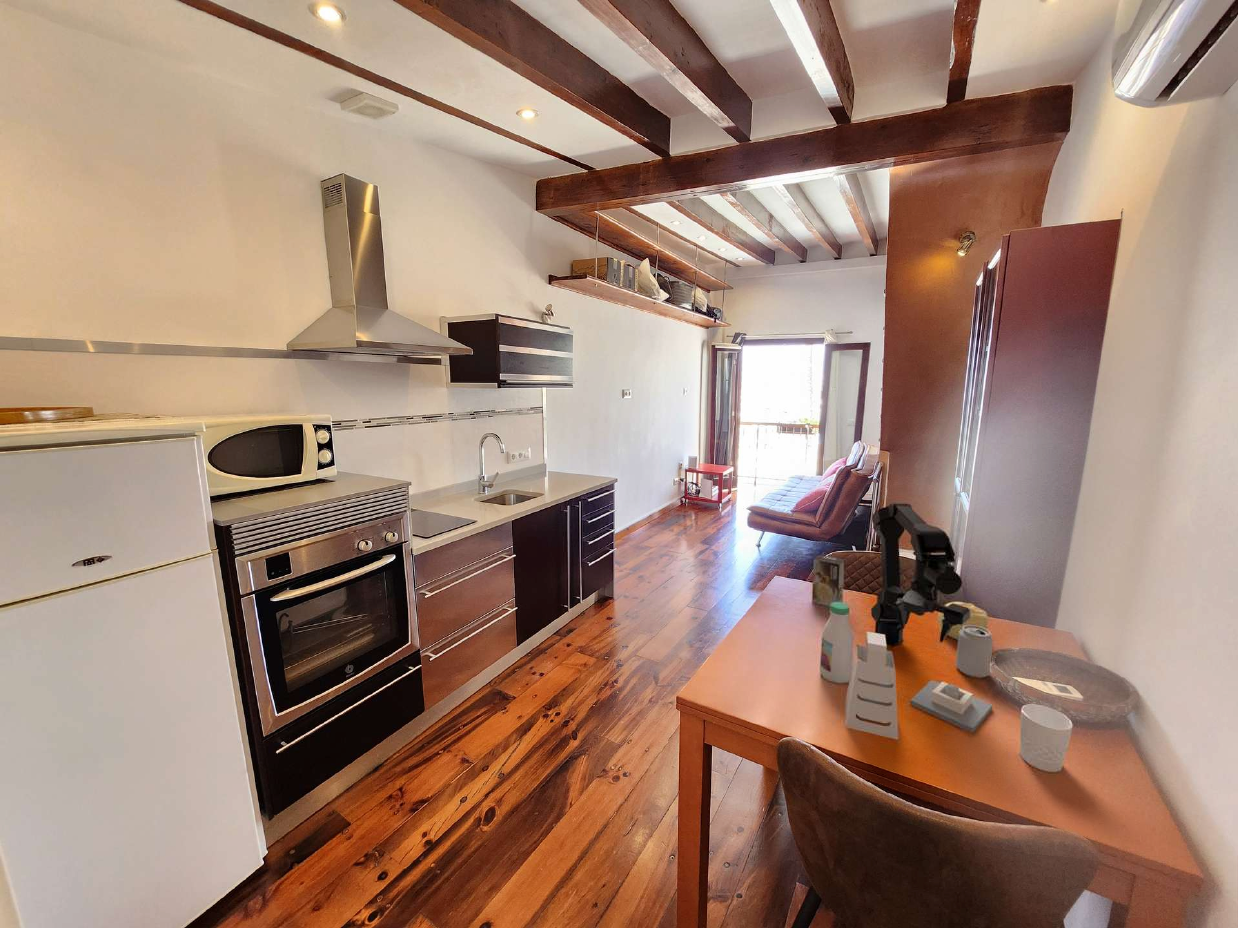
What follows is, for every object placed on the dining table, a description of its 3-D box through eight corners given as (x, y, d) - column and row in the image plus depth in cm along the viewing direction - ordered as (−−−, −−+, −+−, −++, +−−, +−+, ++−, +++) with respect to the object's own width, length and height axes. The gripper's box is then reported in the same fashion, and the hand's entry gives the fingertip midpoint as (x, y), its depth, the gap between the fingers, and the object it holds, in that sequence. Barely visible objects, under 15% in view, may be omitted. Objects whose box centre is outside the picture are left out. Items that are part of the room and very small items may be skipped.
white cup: (1006, 747, 106) (1011, 705, 105) (1040, 745, 107) (1046, 702, 105) (1040, 776, 99) (1046, 730, 97) (1076, 773, 99) (1083, 728, 98)
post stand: (909, 704, 121) (911, 684, 120) (931, 683, 129) (933, 665, 128) (972, 733, 111) (974, 711, 110) (992, 709, 119) (994, 689, 118)
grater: (894, 710, 119) (900, 632, 115) (898, 739, 109) (905, 654, 106) (845, 700, 123) (850, 624, 120) (845, 726, 113) (851, 645, 110)
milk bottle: (851, 671, 135) (856, 601, 132) (851, 687, 128) (856, 613, 125) (820, 665, 138) (824, 596, 135) (818, 680, 131) (822, 608, 128)
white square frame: (931, 700, 120) (931, 691, 120) (941, 690, 124) (942, 681, 124) (961, 714, 115) (962, 704, 115) (971, 703, 119) (972, 693, 119)
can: (995, 680, 130) (1000, 638, 128) (963, 677, 131) (967, 635, 129) (980, 665, 137) (985, 624, 135) (950, 662, 139) (954, 621, 137)
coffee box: (843, 602, 176) (846, 559, 174) (837, 609, 171) (840, 564, 169) (817, 596, 182) (819, 553, 180) (810, 602, 177) (813, 558, 175)
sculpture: (950, 645, 148) (953, 610, 146) (930, 625, 159) (933, 593, 158) (992, 647, 146) (996, 612, 144) (968, 627, 158) (972, 595, 156)
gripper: (874, 574, 130) (870, 630, 132) (956, 598, 115) (950, 660, 118) (893, 564, 137) (889, 618, 139) (973, 585, 122) (967, 645, 125)
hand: (921, 634), depth 130 cm, fingers open, 9 cm apart
